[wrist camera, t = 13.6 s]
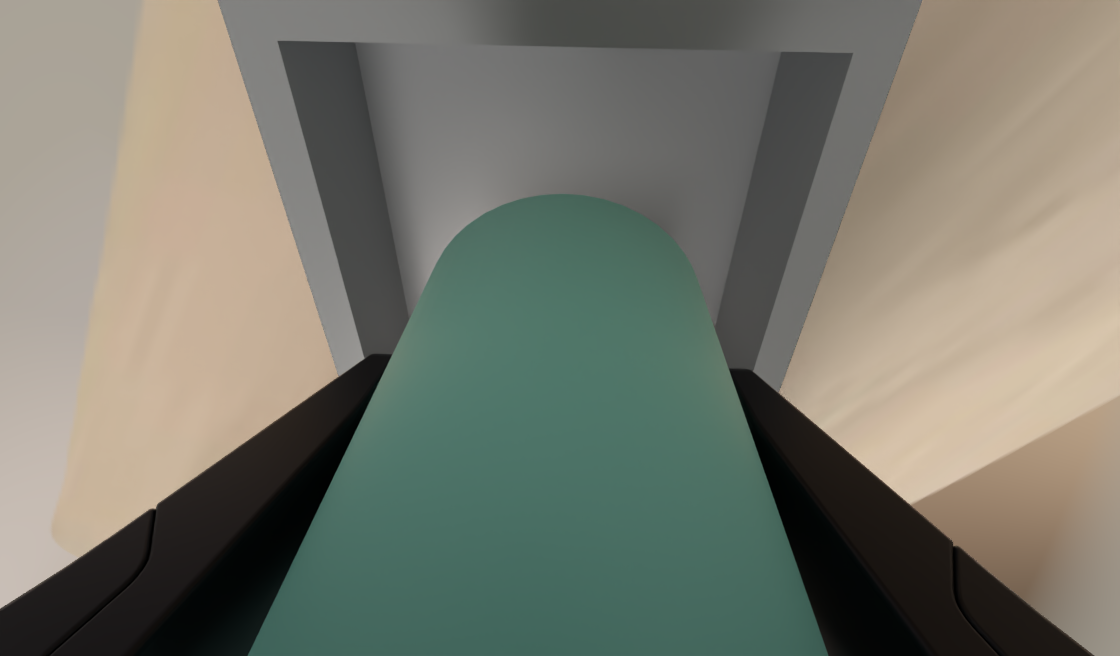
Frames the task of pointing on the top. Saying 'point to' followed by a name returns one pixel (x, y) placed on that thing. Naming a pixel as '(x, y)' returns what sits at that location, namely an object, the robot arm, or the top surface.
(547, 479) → the teal capsule
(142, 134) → the top surface
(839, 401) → the top surface
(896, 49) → the grey rectangular tray
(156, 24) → the top surface
